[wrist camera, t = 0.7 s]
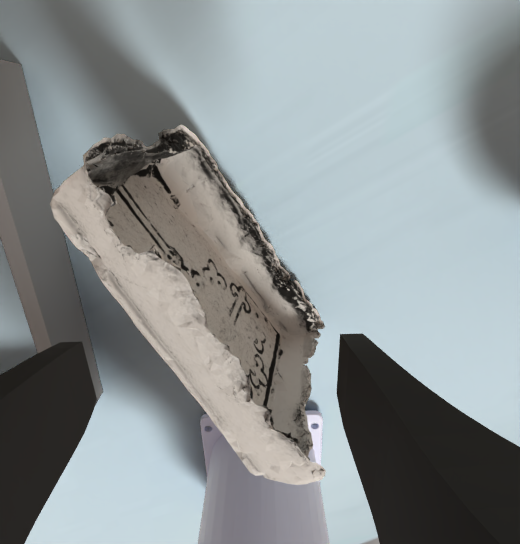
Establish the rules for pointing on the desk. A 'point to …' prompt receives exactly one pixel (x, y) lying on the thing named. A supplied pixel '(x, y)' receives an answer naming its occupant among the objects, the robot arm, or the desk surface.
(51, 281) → the box
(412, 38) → the desk surface
